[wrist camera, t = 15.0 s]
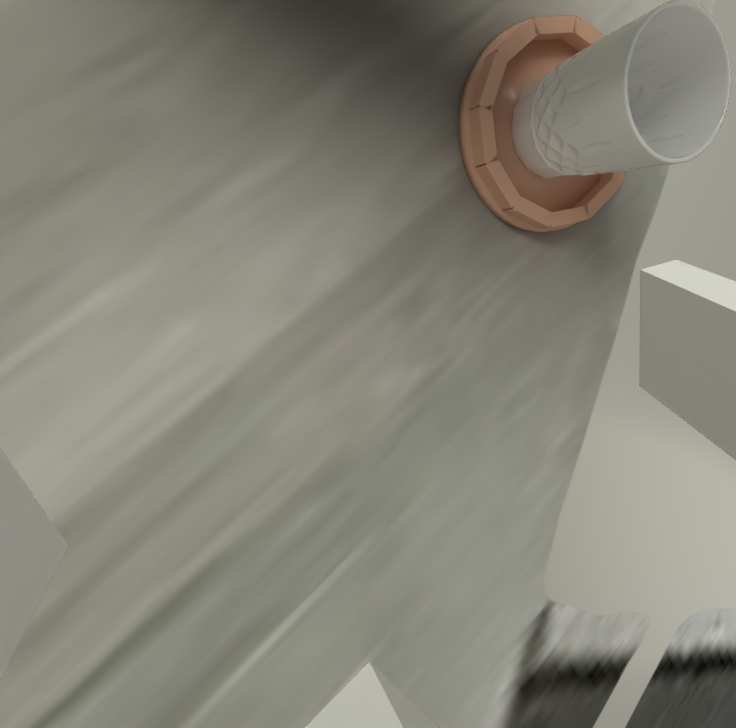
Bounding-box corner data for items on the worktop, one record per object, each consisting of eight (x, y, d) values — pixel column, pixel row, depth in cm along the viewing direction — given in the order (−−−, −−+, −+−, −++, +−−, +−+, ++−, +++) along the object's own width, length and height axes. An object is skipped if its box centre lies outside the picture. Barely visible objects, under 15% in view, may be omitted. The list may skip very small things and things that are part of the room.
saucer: (445, 26, 33) (462, 12, 31) (611, 18, 38) (635, 5, 36) (472, 247, 37) (488, 246, 35) (621, 215, 41) (642, 213, 39)
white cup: (567, 45, 36) (708, -29, 27) (607, 151, 39) (746, 116, 30) (484, 103, 34) (604, 45, 25) (532, 209, 37) (655, 191, 28)
